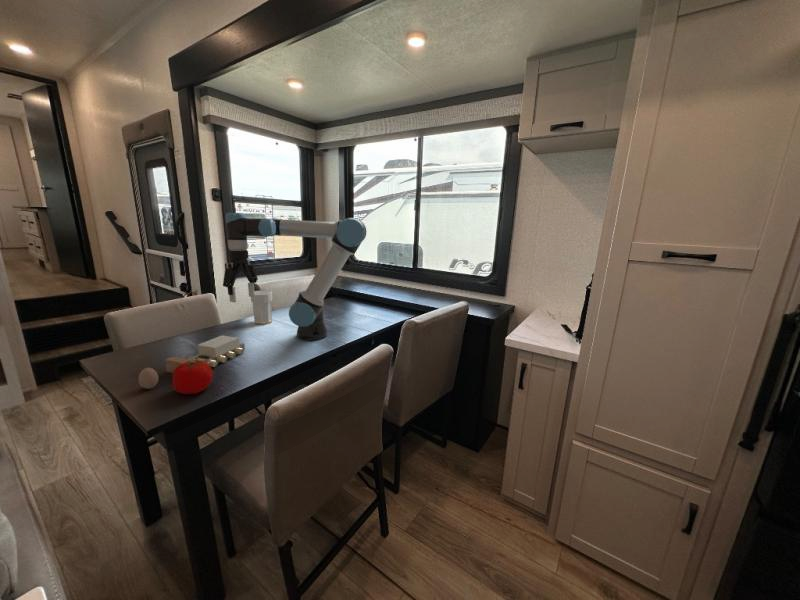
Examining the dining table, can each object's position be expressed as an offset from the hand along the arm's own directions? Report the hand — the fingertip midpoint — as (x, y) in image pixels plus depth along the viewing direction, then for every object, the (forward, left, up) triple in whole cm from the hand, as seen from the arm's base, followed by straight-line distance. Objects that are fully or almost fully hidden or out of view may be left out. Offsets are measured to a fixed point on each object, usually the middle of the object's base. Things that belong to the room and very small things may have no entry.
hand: (242, 299), depth 142 cm
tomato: (-14, +39, -22) cm, 47 cm away
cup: (+16, -30, -22) cm, 40 cm away
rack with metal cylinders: (0, +19, -22) cm, 29 cm away
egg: (+1, +43, -22) cm, 48 cm away
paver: (0, +15, -19) cm, 24 cm away
